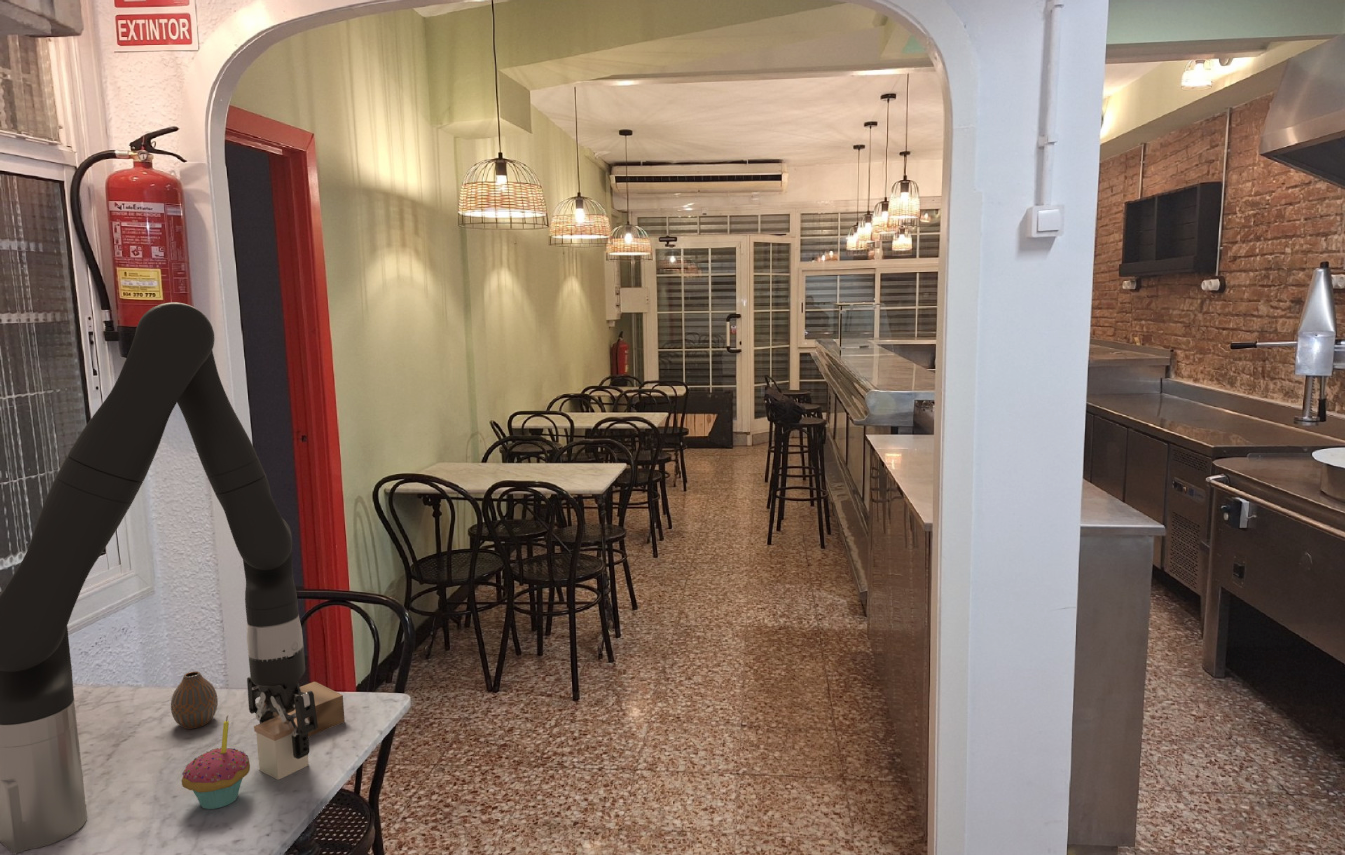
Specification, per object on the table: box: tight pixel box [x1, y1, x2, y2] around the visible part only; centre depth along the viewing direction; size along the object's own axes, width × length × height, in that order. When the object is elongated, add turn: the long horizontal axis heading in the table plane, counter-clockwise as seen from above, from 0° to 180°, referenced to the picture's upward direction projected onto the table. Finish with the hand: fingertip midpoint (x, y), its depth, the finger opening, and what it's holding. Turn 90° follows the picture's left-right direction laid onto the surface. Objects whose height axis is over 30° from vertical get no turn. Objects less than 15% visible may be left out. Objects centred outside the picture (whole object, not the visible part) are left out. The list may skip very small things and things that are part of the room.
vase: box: [170, 670, 219, 730], centre depth 145 cm, size 7×7×9 cm
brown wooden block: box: [273, 681, 346, 738], centre depth 145 cm, size 9×9×5 cm
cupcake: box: [181, 715, 251, 810], centre depth 122 cm, size 9×8×12 cm
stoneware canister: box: [253, 713, 310, 781], centre depth 131 cm, size 5×5×7 cm
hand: (285, 748), depth 131 cm, fingers open, 8 cm apart
